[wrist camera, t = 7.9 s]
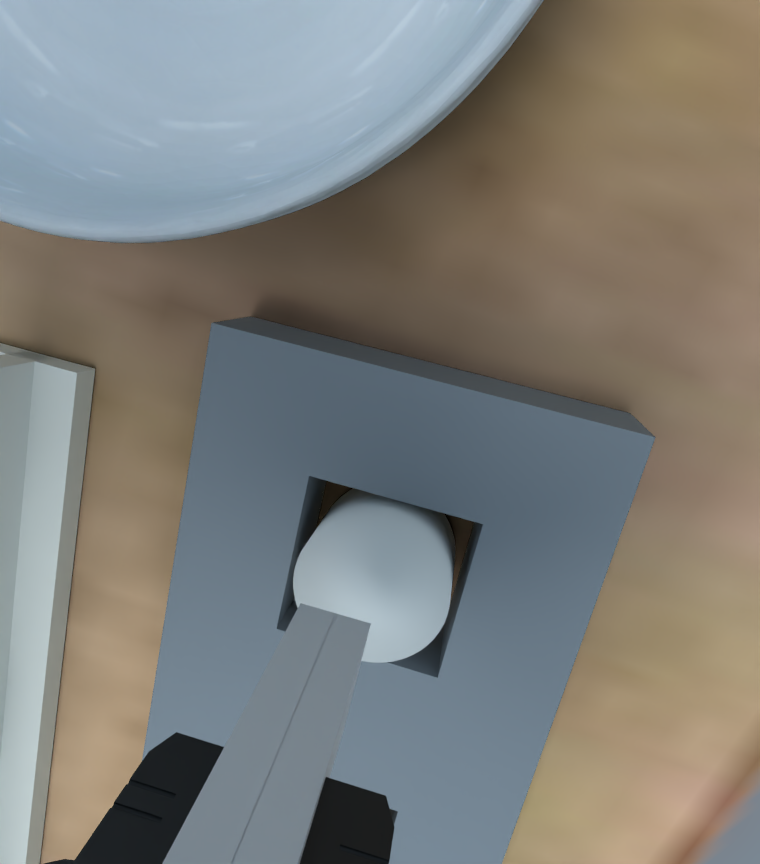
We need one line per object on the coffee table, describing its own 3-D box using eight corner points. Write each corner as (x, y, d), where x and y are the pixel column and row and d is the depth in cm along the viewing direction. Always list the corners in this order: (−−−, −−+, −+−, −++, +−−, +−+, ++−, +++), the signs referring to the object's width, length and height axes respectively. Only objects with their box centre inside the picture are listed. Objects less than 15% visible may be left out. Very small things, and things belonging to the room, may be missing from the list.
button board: (250, 316, 20) (211, 322, 17) (630, 413, 19) (655, 437, 16) (127, 1021, 29) (87, 1104, 26) (385, 1119, 28) (374, 1217, 25)
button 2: (335, 466, 20) (309, 497, 17) (471, 503, 20) (468, 541, 17) (307, 588, 21) (280, 636, 18) (436, 626, 21) (428, 681, 18)
